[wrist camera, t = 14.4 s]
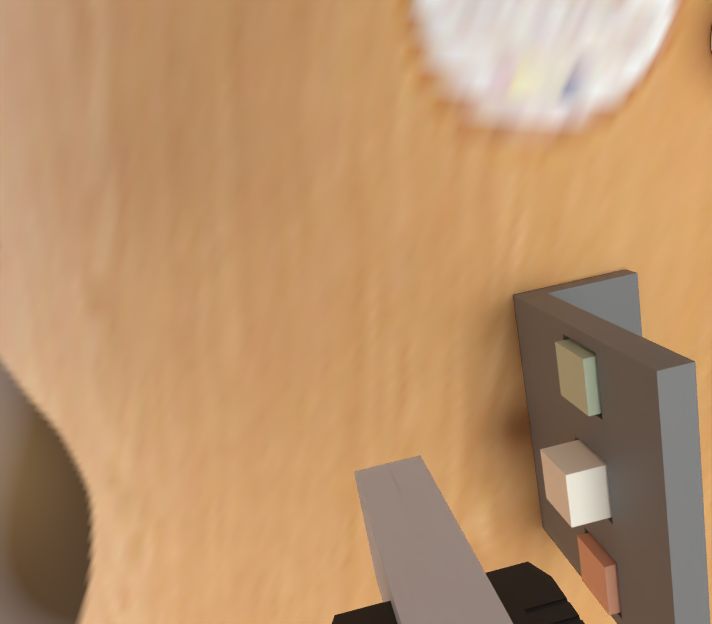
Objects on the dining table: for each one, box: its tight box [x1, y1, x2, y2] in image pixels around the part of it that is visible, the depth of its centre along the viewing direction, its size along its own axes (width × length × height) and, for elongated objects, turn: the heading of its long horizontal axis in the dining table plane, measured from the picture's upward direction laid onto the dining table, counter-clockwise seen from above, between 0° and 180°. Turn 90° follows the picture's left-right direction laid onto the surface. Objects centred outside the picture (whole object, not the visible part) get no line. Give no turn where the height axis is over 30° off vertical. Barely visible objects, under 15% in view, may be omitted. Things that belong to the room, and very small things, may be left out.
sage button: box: [555, 338, 602, 416], centre depth 40 cm, size 4×4×4 cm
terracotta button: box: [577, 532, 621, 615], centre depth 43 cm, size 4×4×4 cm
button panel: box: [513, 270, 710, 624], centre depth 43 cm, size 20×9×18 cm, turn 11°
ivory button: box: [540, 440, 612, 528], centre depth 41 cm, size 4×4×4 cm
